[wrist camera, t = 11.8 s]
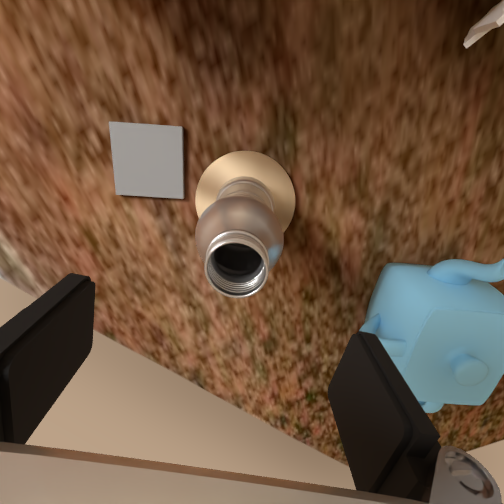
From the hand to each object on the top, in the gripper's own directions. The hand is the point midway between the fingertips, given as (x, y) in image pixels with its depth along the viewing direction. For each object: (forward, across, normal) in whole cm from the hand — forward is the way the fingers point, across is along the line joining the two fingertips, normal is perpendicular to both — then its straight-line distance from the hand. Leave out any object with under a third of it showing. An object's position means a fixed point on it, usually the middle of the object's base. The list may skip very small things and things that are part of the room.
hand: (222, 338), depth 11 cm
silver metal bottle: (+26, -1, +1) cm, 27 cm away
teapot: (+27, -26, +8) cm, 38 cm away
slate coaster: (+27, +11, -1) cm, 30 cm away
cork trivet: (+27, -1, +1) cm, 27 cm away
